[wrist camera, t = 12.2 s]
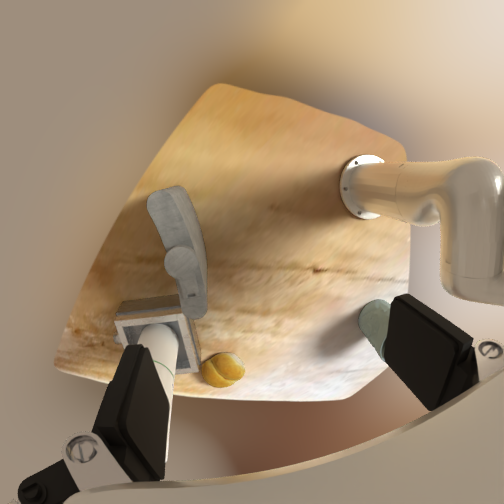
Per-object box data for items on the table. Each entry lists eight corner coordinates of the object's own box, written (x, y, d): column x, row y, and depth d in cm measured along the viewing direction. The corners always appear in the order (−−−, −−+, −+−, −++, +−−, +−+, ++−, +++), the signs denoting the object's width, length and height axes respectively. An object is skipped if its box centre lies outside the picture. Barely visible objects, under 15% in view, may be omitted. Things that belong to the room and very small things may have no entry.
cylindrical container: (141, 354, 47) (113, 462, 23) (139, 321, 46) (100, 429, 22) (179, 357, 49) (170, 470, 25) (178, 325, 47) (164, 439, 23)
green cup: (397, 311, 60) (426, 335, 48) (368, 342, 61) (394, 370, 49) (377, 288, 57) (408, 311, 46) (345, 322, 58) (372, 351, 47)
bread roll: (194, 366, 56) (193, 378, 52) (226, 344, 55) (228, 356, 51) (219, 387, 58) (220, 399, 54) (250, 367, 58) (253, 379, 54)
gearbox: (187, 292, 51) (184, 311, 44) (200, 350, 54) (200, 372, 47) (109, 303, 49) (97, 321, 42) (128, 357, 53) (120, 379, 45)
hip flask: (166, 188, 46) (137, 197, 26) (189, 181, 46) (175, 185, 27) (192, 274, 50) (184, 332, 31) (213, 268, 50) (218, 323, 31)
